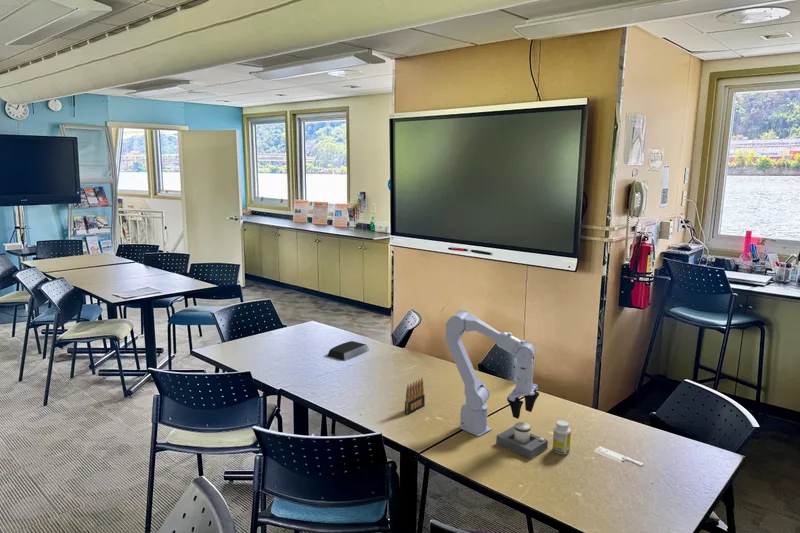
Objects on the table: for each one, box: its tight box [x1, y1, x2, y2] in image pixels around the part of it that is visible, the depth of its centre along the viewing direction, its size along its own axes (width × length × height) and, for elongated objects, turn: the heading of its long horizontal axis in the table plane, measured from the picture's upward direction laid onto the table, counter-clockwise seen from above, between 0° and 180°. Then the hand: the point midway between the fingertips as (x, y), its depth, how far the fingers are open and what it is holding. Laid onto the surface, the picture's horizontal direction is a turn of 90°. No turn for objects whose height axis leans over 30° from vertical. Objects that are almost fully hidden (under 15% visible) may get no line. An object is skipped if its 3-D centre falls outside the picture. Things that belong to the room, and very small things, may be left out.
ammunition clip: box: [404, 377, 426, 416], centre depth 214 cm, size 11×2×12 cm, turn 141°
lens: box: [514, 421, 532, 445], centre depth 187 cm, size 5×5×6 cm
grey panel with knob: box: [495, 426, 549, 460], centre depth 188 cm, size 14×10×4 cm
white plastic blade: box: [593, 445, 644, 467], centre depth 181 cm, size 5×15×1 cm, turn 42°
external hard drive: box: [327, 340, 370, 361], centre depth 280 cm, size 13×19×4 cm
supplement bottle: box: [552, 420, 572, 455], centre depth 184 cm, size 6×6×10 cm
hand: (522, 414), depth 191 cm, fingers open, 7 cm apart
